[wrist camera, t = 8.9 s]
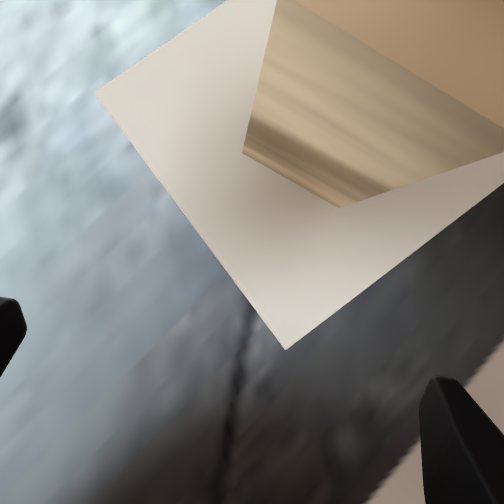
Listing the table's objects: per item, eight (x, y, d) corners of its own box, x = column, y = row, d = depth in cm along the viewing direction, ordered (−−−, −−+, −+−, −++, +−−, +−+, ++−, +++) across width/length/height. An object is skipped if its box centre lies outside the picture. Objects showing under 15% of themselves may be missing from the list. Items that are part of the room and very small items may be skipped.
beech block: (338, 207, 18) (528, 143, 7) (241, 153, 17) (279, -10, 6) (390, 112, 18) (657, -101, 7) (295, 55, 18) (421, -264, 7)
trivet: (282, 345, 18) (285, 350, 18) (99, 99, 18) (93, 92, 17) (510, 171, 19) (522, 168, 19) (344, -71, 19) (350, -85, 18)
